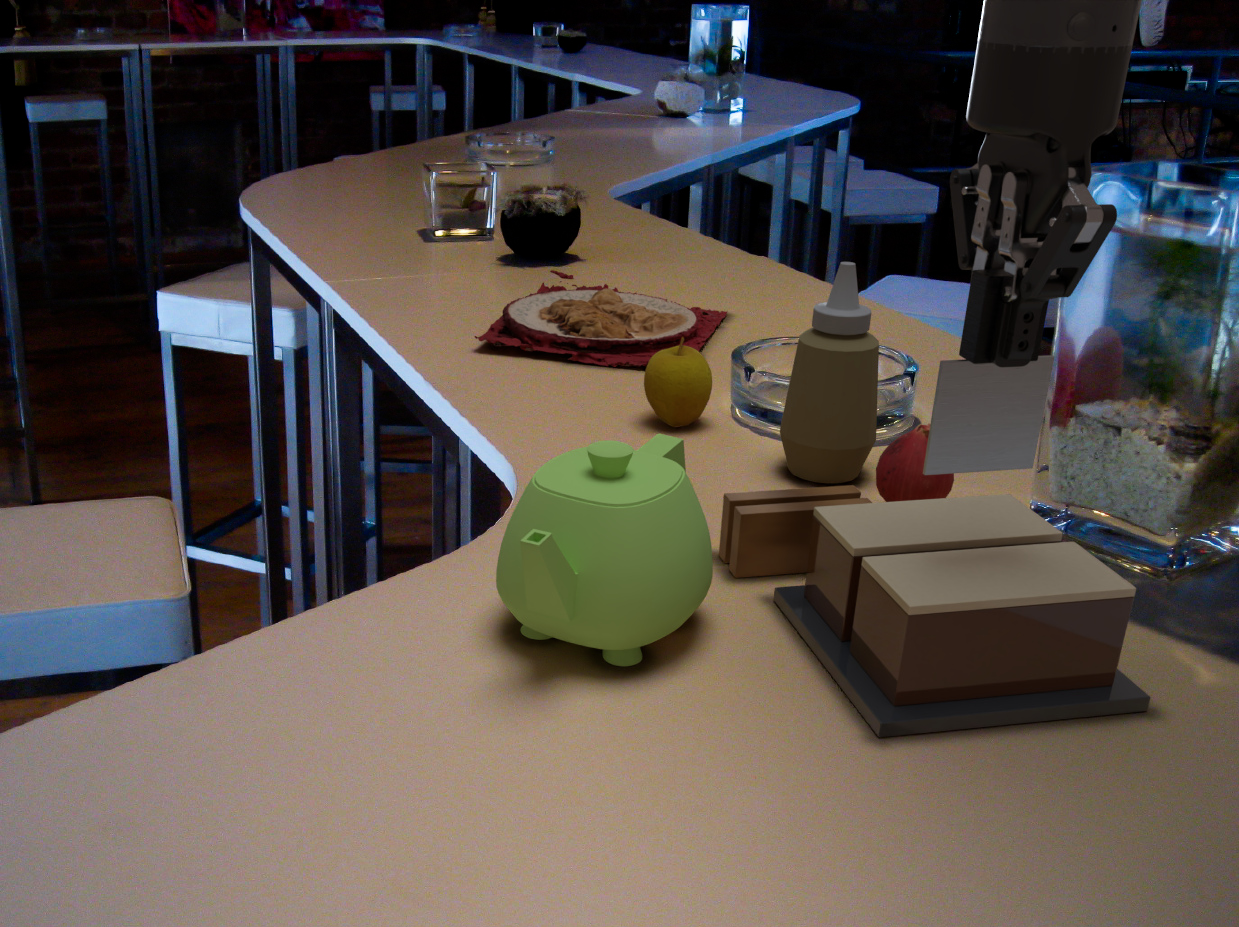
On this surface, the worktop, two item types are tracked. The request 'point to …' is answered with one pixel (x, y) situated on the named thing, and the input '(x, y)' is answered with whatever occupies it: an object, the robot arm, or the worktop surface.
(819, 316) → the squeeze bottle
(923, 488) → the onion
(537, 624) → the teapot
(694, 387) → the apple
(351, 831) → the worktop surface
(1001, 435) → the knife
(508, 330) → the plate with food
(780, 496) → the knife block
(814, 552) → the cake
